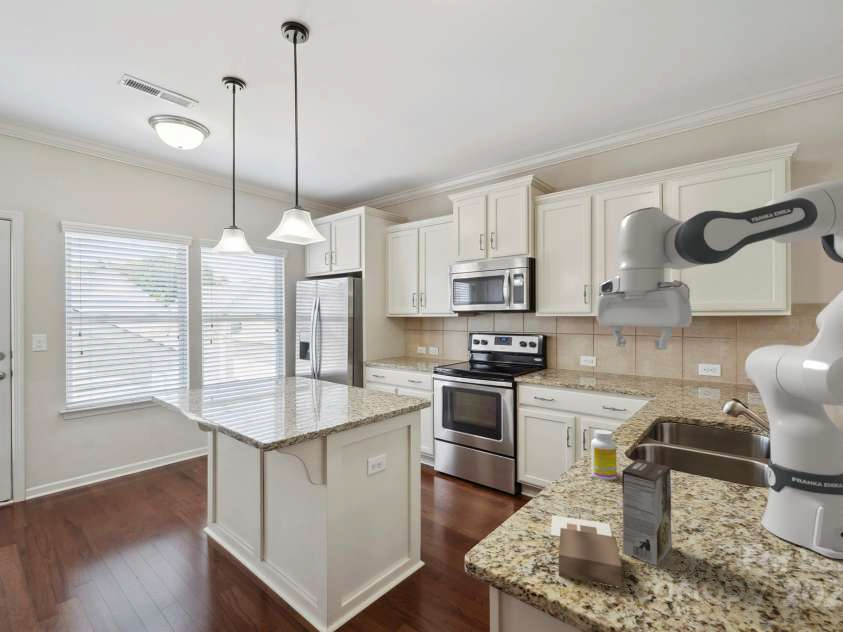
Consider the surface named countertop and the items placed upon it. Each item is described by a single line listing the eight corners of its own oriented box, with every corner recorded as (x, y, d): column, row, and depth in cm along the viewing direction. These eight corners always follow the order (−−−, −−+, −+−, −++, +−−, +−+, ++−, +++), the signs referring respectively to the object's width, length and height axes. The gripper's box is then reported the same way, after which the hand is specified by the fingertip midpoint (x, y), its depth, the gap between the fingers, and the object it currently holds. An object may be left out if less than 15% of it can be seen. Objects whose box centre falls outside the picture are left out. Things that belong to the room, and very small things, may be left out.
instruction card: (609, 524, 90) (609, 523, 90) (613, 546, 82) (613, 544, 82) (552, 516, 94) (552, 514, 94) (550, 535, 86) (550, 534, 86)
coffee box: (637, 535, 86) (637, 458, 86) (672, 547, 81) (672, 465, 81) (621, 553, 79) (620, 469, 79) (658, 567, 75) (657, 478, 75)
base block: (616, 558, 78) (615, 537, 78) (621, 590, 69) (621, 566, 69) (560, 548, 82) (560, 527, 82) (558, 577, 73) (558, 554, 73)
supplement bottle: (620, 481, 114) (620, 435, 114) (596, 481, 114) (596, 435, 114) (610, 472, 121) (609, 428, 121) (587, 472, 121) (587, 428, 121)
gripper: (699, 280, 81) (699, 351, 81) (611, 287, 100) (611, 344, 100) (679, 279, 79) (678, 351, 78) (592, 286, 97) (592, 345, 97)
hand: (640, 347), depth 89 cm, fingers open, 8 cm apart
